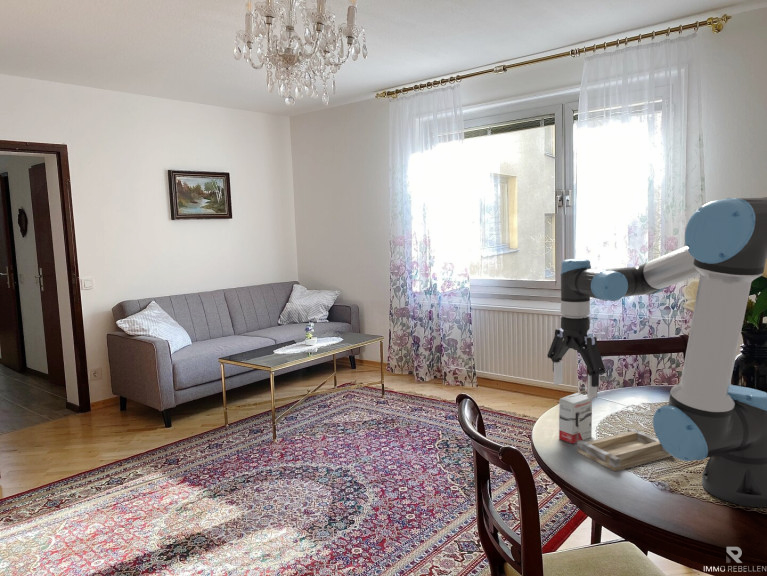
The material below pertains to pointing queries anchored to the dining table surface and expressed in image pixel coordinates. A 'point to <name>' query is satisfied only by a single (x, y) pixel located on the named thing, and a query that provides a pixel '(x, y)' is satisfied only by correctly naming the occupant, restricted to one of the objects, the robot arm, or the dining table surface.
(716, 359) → the robot arm
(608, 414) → the dining table surface
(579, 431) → the ink box
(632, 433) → the wooden tray
